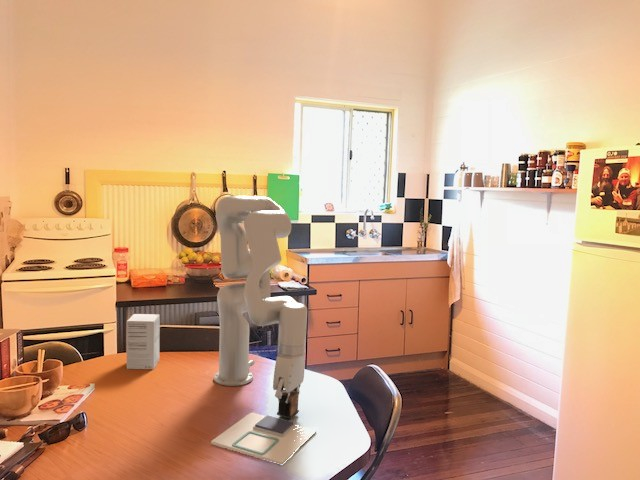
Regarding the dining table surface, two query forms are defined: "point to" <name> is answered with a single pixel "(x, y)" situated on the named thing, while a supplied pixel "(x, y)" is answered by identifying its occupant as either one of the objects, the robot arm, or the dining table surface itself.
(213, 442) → the board
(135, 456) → the dining table surface
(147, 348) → the supplement box
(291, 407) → the stamp
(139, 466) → the dining table surface
